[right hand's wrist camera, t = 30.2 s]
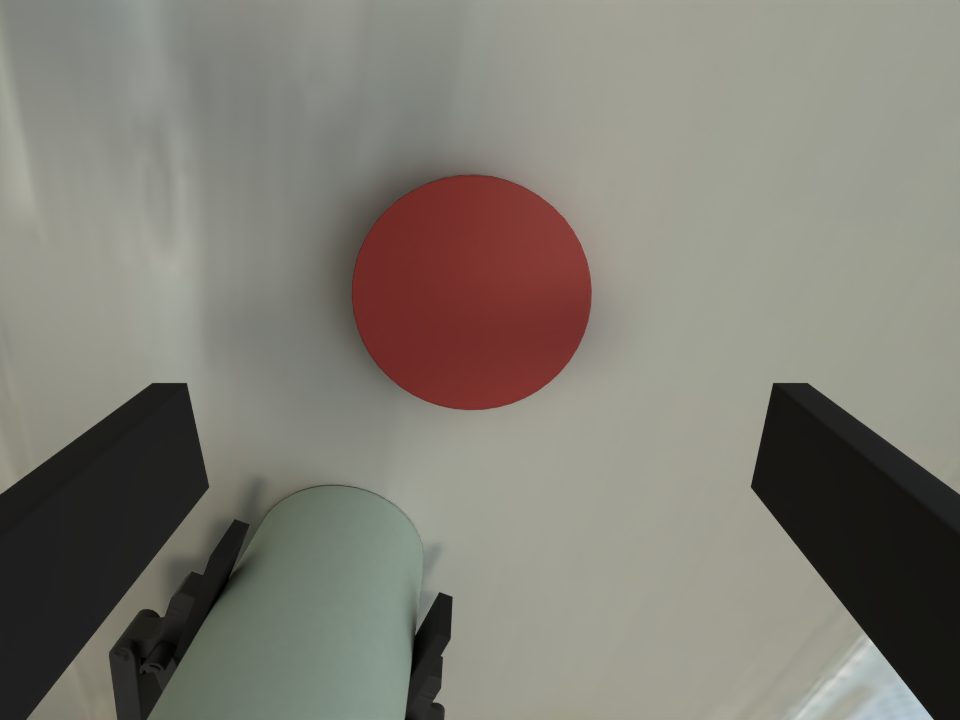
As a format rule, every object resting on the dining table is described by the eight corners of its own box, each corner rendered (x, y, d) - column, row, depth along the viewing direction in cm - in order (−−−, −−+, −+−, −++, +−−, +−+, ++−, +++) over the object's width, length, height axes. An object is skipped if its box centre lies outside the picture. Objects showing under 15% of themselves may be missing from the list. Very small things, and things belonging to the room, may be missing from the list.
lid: (619, 216, 27) (628, 220, 25) (541, 420, 31) (544, 434, 29) (389, 141, 26) (383, 140, 24) (337, 364, 29) (329, 375, 28)
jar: (441, 506, 33) (411, 824, 17) (404, 634, 36) (351, 998, 20) (267, 467, 32) (65, 769, 16) (246, 604, 35) (62, 962, 19)
